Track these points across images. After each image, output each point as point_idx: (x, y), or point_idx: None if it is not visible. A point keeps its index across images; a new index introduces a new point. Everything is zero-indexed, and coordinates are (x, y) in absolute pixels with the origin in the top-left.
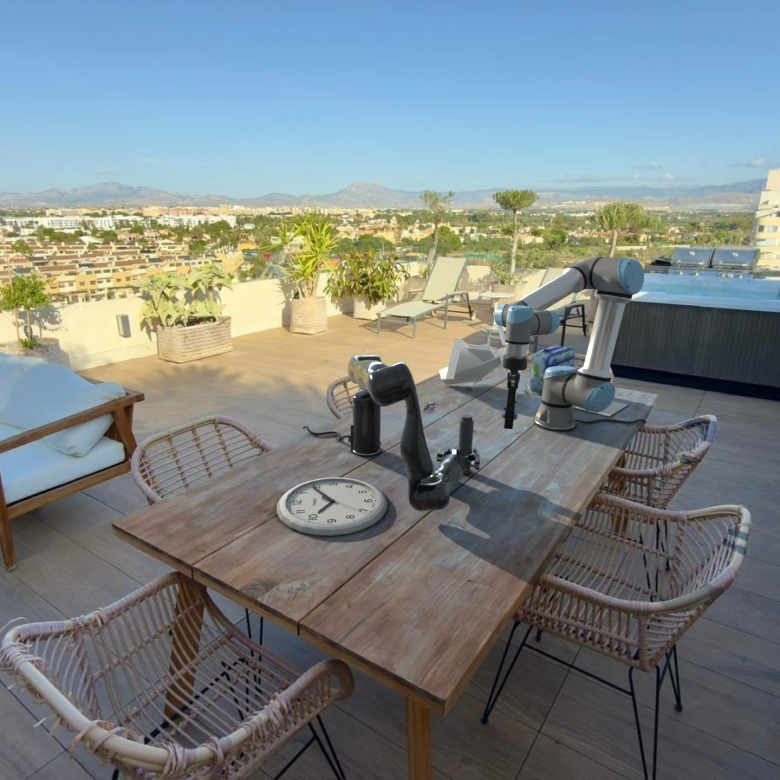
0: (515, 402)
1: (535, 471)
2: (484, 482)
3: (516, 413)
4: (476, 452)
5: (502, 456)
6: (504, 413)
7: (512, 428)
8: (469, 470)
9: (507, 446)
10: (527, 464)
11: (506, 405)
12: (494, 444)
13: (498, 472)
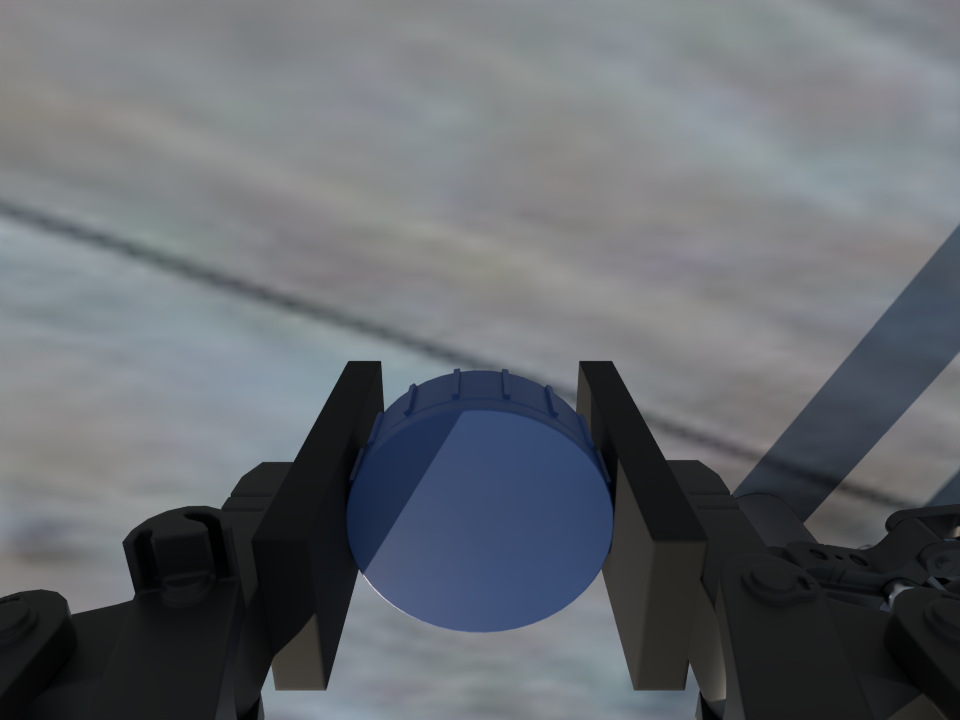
0: (209, 566)
1: (667, 26)
2: (898, 400)
3: (474, 421)
4: (838, 565)
5: (437, 310)
6: (545, 605)
7: (613, 368)
8: (785, 508)
9: (216, 282)
10: (538, 101)
11: (329, 666)
12: (221, 382)
13: (732, 323)
